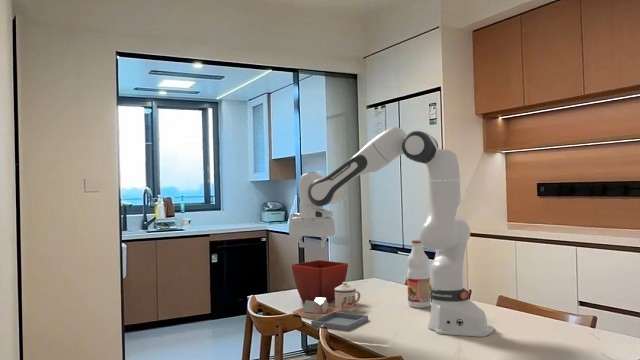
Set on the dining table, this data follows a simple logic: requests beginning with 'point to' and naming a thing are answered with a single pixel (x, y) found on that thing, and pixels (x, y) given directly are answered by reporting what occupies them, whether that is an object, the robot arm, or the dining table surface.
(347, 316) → the tray
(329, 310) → the tray
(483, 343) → the dining table surface
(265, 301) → the dining table surface
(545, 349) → the dining table surface
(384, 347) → the dining table surface
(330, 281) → the plant pot
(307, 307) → the stone
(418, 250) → the fruit juice
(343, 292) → the teacup with lid
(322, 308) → the stone
